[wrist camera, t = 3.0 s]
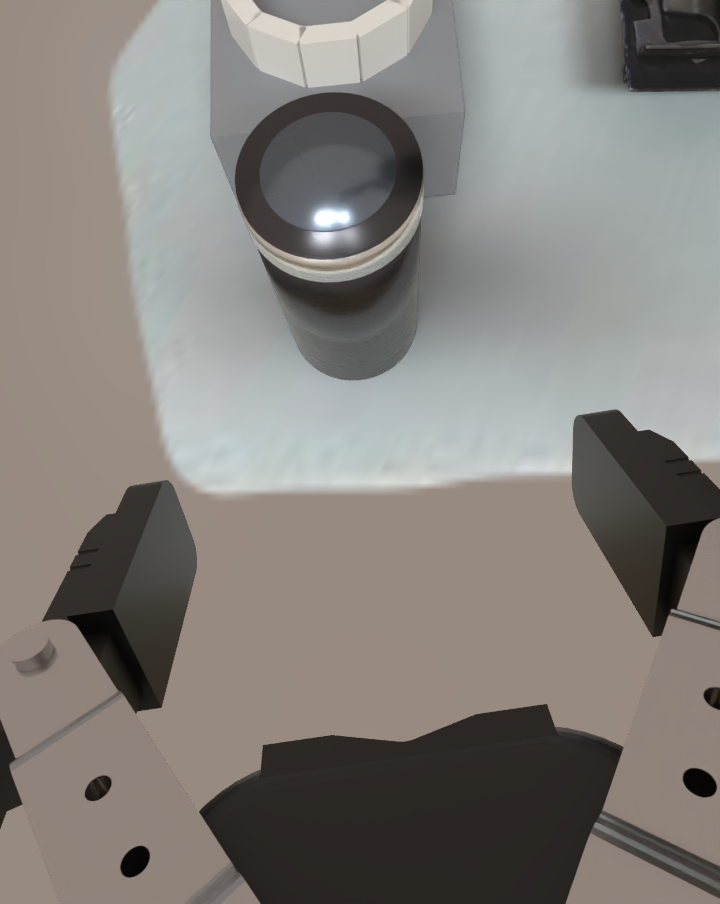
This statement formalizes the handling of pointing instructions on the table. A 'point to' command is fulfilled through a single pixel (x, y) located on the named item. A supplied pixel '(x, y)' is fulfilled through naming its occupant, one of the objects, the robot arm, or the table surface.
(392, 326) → the lens
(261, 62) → the grey base with ring
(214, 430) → the table surface
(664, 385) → the table surface
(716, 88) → the vintage camera
